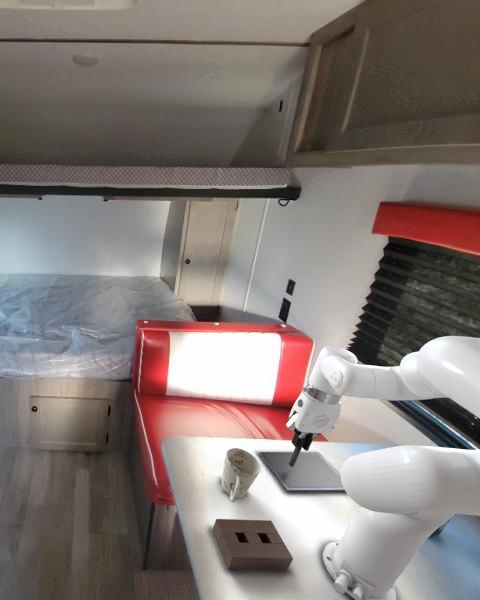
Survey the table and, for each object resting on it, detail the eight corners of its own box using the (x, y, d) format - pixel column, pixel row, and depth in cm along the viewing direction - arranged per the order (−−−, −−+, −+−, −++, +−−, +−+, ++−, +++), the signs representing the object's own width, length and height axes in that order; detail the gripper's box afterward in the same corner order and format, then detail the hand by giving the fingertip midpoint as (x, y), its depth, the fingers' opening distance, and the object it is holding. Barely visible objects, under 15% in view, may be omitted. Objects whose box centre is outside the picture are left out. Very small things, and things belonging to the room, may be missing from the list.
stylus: (292, 468, 95) (307, 433, 90) (286, 465, 96) (302, 429, 91) (294, 466, 96) (309, 431, 91) (288, 463, 97) (304, 428, 92)
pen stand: (287, 570, 72) (293, 558, 70) (227, 569, 71) (232, 557, 69) (266, 531, 79) (271, 520, 78) (212, 530, 78) (216, 518, 77)
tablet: (317, 454, 105) (318, 452, 104) (352, 491, 93) (353, 489, 92) (258, 453, 102) (259, 451, 102) (286, 492, 90) (287, 489, 90)
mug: (250, 483, 92) (260, 456, 88) (248, 522, 81) (260, 493, 77) (218, 470, 95) (227, 443, 91) (213, 505, 84) (223, 476, 81)
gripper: (304, 399, 83) (280, 455, 89) (362, 403, 84) (335, 458, 90) (285, 381, 90) (265, 435, 96) (340, 385, 91) (316, 438, 97)
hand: (299, 446), depth 93 cm, fingers closed on stylus, 1 cm apart
